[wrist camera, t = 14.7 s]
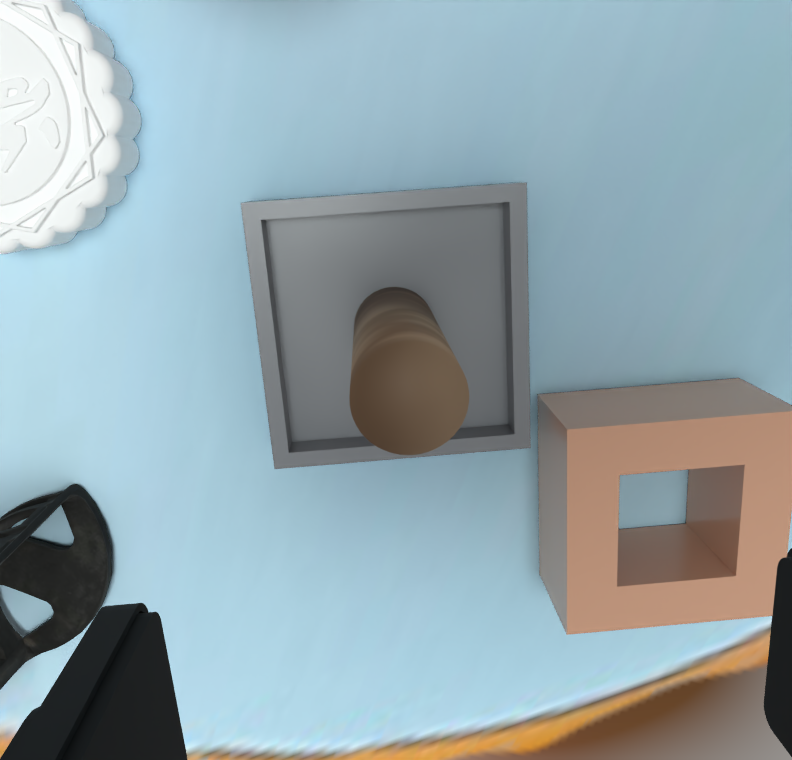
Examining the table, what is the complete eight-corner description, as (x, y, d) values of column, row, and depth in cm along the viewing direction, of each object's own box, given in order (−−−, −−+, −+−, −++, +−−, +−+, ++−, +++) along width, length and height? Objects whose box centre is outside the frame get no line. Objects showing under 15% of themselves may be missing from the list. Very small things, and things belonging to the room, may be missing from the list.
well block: (739, 378, 37) (801, 410, 32) (725, 558, 40) (780, 615, 35) (537, 394, 37) (567, 429, 32) (539, 574, 40) (566, 634, 35)
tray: (514, 182, 34) (526, 182, 31) (519, 430, 37) (530, 447, 35) (249, 201, 33) (240, 202, 31) (280, 450, 37) (274, 469, 35)
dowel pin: (431, 283, 34) (466, 336, 22) (436, 362, 35) (471, 450, 23) (350, 289, 34) (344, 345, 22) (357, 368, 35) (354, 459, 23)
